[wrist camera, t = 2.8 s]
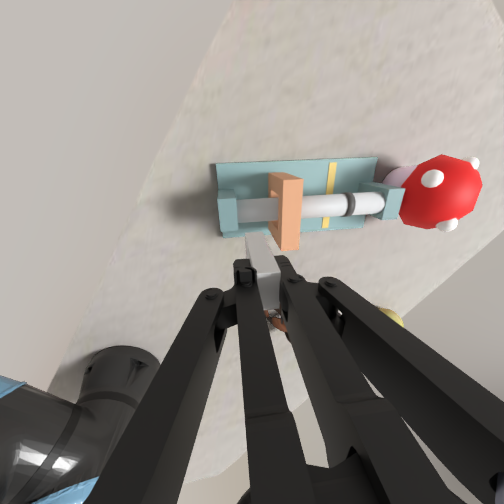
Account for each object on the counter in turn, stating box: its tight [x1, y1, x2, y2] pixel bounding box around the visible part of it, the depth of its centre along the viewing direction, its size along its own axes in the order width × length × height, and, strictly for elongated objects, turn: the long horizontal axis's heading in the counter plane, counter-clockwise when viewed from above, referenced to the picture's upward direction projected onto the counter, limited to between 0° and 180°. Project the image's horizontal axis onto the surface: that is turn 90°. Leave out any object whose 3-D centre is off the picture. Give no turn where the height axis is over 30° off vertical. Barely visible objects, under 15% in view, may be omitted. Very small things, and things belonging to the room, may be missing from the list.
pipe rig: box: [216, 157, 405, 238], centre depth 33 cm, size 26×12×8 cm, turn 92°
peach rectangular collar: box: [268, 172, 304, 251], centre depth 30 cm, size 2×9×9 cm, turn 2°
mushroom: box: [382, 154, 482, 232], centre depth 32 cm, size 11×11×12 cm
